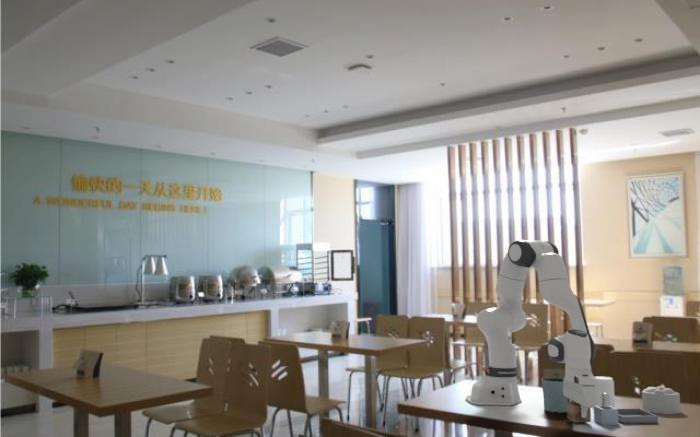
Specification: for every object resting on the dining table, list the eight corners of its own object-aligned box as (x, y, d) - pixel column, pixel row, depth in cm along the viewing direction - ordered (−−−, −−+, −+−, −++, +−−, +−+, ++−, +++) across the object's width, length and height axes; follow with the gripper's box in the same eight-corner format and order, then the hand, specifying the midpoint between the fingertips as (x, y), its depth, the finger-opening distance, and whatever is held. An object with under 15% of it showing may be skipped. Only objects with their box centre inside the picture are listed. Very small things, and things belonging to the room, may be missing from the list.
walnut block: (574, 422, 222) (574, 406, 222) (567, 417, 228) (567, 402, 228) (590, 422, 222) (590, 406, 223) (583, 417, 228) (583, 402, 229)
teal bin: (565, 414, 238) (564, 382, 238) (539, 411, 243) (538, 379, 244) (571, 409, 246) (571, 378, 247) (545, 406, 251) (545, 375, 252)
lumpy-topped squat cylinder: (644, 406, 251) (644, 384, 252) (681, 410, 245) (680, 387, 245) (641, 411, 242) (640, 388, 243) (679, 415, 236) (678, 392, 236)
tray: (622, 423, 223) (622, 416, 223) (606, 415, 235) (606, 408, 235) (657, 423, 224) (657, 415, 224) (640, 415, 236) (639, 408, 236)
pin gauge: (611, 419, 224) (610, 393, 225) (604, 419, 224) (603, 394, 225) (607, 417, 227) (606, 392, 228) (600, 417, 227) (600, 392, 227)
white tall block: (616, 411, 242) (615, 379, 243) (594, 410, 244) (593, 379, 245) (612, 406, 250) (611, 376, 251) (591, 405, 252) (590, 375, 253)
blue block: (602, 425, 222) (601, 409, 223) (594, 421, 228) (593, 405, 229) (618, 424, 223) (617, 409, 223) (609, 420, 229) (609, 405, 229)
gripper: (558, 370, 236) (558, 407, 235) (581, 381, 216) (582, 422, 215) (574, 370, 237) (575, 407, 236) (599, 381, 216) (600, 421, 215)
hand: (578, 414), depth 225 cm, fingers closed on walnut block, 6 cm apart
